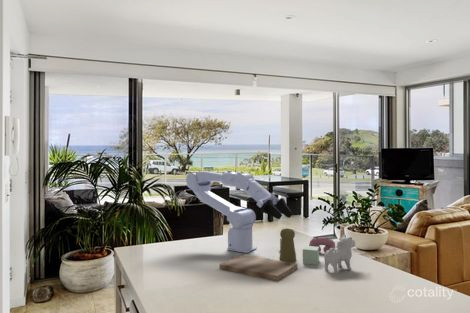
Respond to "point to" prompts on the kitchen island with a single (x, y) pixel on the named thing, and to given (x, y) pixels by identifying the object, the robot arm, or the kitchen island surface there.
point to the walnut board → (259, 266)
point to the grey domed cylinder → (280, 243)
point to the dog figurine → (340, 253)
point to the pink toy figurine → (322, 243)
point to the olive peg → (287, 246)
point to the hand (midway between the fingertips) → (285, 216)
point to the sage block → (310, 255)
